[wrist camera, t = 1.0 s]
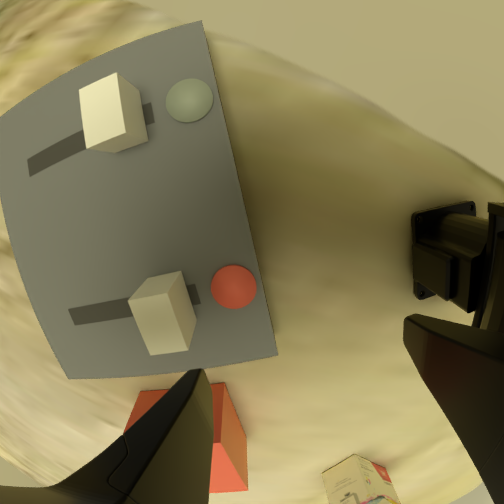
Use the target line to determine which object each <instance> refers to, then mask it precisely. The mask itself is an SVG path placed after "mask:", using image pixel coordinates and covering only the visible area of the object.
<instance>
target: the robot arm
mask: <svg viewBox="0 0 504 504" xmlns="http://www.w3.org/2000/svg"><path fill="white" fill-rule="evenodd" d="M470 206H471V207H470ZM488 212H489V220H487V219H483V218H479V217H476V206H475V203H474V202H473V201H464V202H459V203H454V204H450V205H445V206H441V207H436V208H431V209H427V210H422V211H418V212H415V213H414V214H413V215H412V219H411V221H412V233H413V246H412V250H413V278H414V294H415V297H416V298H418V299H419V300H423V299H426V298H428V297H431V296H434V295H436V294H437V295H438V296H439V297H441V298H442V299H444V300H445V301H449V300H450V301H451V302H453V303H454V304H456V305H457V306H458V307H460V308H461V309H463V310H464V311H466V312H467V313H471V312H473V311H475V314H474V318H473V322H472V326H467V325H463V324H458V323H454V322H450V321H445V320H441V319H437V318H433V317H428V316H424V315H420V314H413V315H410V316H407V317H406V318H405V319H404V330H403V341H404V345H405V347H406V349H407V351H408V353H409V355H410V356H411V358H412V360H413V362H414V364H415V366H416V368H417V370H418V372H419V374H420V376H421V378H422V379H423V381H424V383H425V384H426V386H427V387H428V389H429V390H430V392H431V393H432V395H433V396H434V398H435V400H436V401H437V403H438V404H439V406H440V407H441V409H442V410H443V412H444V414H445V415H446V417H447V419H448V420H449V422H450V423H451V425H452V427H453V428H454V430H455V432H456V433H457V435H458V437H459V438H460V440H461V442H462V444H463V445H464V447H465V449H466V450H467V452H468V454H469V456H470V458H471V459H472V461H473V463H474V465H475V467H476V468H477V470H478V472H479V474H480V476H481V478H482V480H483V482H484V484H485V486H486V488H487V490H488V492H489V494H490V496H491V498H492V500H493V502H494V504H504V203H495V202H488ZM418 217H420V220H419V222H418V221H417V218H418ZM421 291H422V293H421V294H420V292H421ZM213 440H214V422H213V396H212V389H211V386H210V384H209V381H208V379H207V376H206V374H205V371H204V370H203V369H202V368H197V369H190V370H189V371H187V372H186V373H185V374H184V375H183V376H182V377H181V378H180V379H179V380H178V381H177V382H176V383H175V384H174V385H173V386H172V387H171V388H170V389H169V390H168V391H167V392H166V393H165V394H164V395H163V396H162V397H161V398H160V399H159V400H158V401H157V402H156V403H155V404H154V405H153V406H152V407H151V408H150V409H149V410H148V411H147V412H146V413H144V414H143V415H142V416H141V417H140V418H139V419H138V420H137V421H136V422H135V423H134V424H133V425H132V426H131V427H130V428H129V429H128V430H126V431H125V432H124V433H123V435H121V436H120V437H119V438H118V439H117V440H116V441H114V442H113V443H112V444H111V445H110V446H109V447H108V448H106V449H105V450H104V451H103V452H102V453H100V454H99V455H98V456H97V457H95V458H94V459H93V460H91V461H90V462H89V463H87V464H86V465H84V466H83V467H82V468H80V469H79V470H77V471H76V472H74V473H73V474H72V475H70V476H69V477H67V478H66V479H64V480H63V481H61V482H59V483H58V484H55V485H52V486H49V487H41V488H35V487H12V486H1V485H0V504H208V501H209V488H210V475H211V463H212V452H213Z"/></svg>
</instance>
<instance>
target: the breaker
mask: <svg viewBox="0 0 504 504" xmlns="http://www.w3.org/2000/svg"><path fill="white" fill-rule="evenodd" d="M79 97H80V106H81V115H82V123H83V130H84V137H85V143H86V149H92V150H98V151H105V152H111V153H116V152H119V151H122V150H125V149H127V148H130V147H133V146H136V145H139V144H141V143H144V142H147V141H148V136H147V131H146V126H145V120H144V115H143V109H142V104H141V98H140V92H139V90H138V89H137V88H136V87H134V86H133V85H132V84H131V83H130V82H128V81H127V80H126V79H125V78H123V77H122V76H121V75H120V74H118V73H117V72H116V73H114V74H111V75H109V76H107V77H105V78H102V79H100V80H98V81H96V82H94V83H92V84H90V85H88V86H85V87H83V88H81V89H79Z"/></svg>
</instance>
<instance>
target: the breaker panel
mask: <svg viewBox="0 0 504 504" xmlns="http://www.w3.org/2000/svg"><path fill="white" fill-rule="evenodd" d="M116 72H117V73H118V74H120V75H121V76H122V77H123V78H125V79H126V80H127V81H128V82H130V83H131V84H132V85H133V86H134V87H136V88H137V89H138V90H139V92H140V98H141V104H142V109H143V115H144V120H145V126H146V131H147V136H148V141H147V142H144V143H141V144H139V145H136V146H133V147H130V148H127V149H125V150H122V151H119V152H116V153H111V152H105V151H98V150H92V149H86V143H85V137H84V130H83V123H82V115H81V106H80V97H79V89H81V88H83V87H85V86H88V85H90V84H92V83H94V82H96V81H98V80H100V79H102V78H105V77H107V76H109V75H111V74H114V73H116ZM0 198H1V203H2V208H3V213H4V218H5V222H6V227H7V231H8V235H9V239H10V242H11V246H12V250H13V253H14V256H15V260H16V263H17V266H18V269H19V272H20V275H21V278H22V281H23V284H24V286H25V289H26V292H27V295H28V297H29V300H30V302H31V305H32V307H33V310H34V312H35V314H36V317H37V319H38V321H39V323H40V326H41V328H42V330H43V332H44V334H45V336H46V338H47V340H48V342H49V344H50V346H51V348H52V350H53V352H54V354H55V356H56V358H57V360H58V362H59V363H60V365H61V367H62V369H63V371H64V372H65V374H66V376H67V377H68V379H100V378H121V377H135V376H147V375H158V374H168V373H176V372H184V371H189V370H190V369H197V368H202V369H206V368H213V367H219V366H225V365H231V364H237V363H242V362H248V361H253V360H258V359H263V358H268V357H272V356H277V355H278V352H277V347H276V342H275V337H274V332H273V328H272V324H271V319H270V315H269V310H268V306H267V301H266V297H265V292H264V288H263V284H262V279H261V275H260V270H259V266H258V261H257V257H256V253H255V248H254V244H253V239H252V235H251V231H250V226H249V222H248V217H247V213H246V209H245V204H244V200H243V196H242V191H241V187H240V182H239V178H238V174H237V169H236V165H235V161H234V156H233V152H232V148H231V143H230V139H229V135H228V130H227V126H226V122H225V117H224V113H223V109H222V104H221V100H220V96H219V91H218V87H217V83H216V78H215V74H214V70H213V66H212V61H211V57H210V53H209V48H208V44H207V40H206V36H205V32H204V28H203V25H202V21H197V22H193V23H189V24H185V25H182V26H178V27H175V28H171V29H168V30H165V31H161V32H158V33H155V34H152V35H149V36H147V37H144V38H141V39H138V40H136V41H133V42H130V43H128V44H125V45H123V46H120V47H118V48H116V49H113V50H111V51H109V52H106V53H104V54H102V55H100V56H98V57H96V58H94V59H92V60H89V61H87V62H85V63H83V64H82V65H80V66H78V67H76V68H74V69H72V70H70V71H68V72H67V73H65V74H63V75H61V76H60V77H58V78H56V79H54V80H53V81H51V82H50V83H48V84H46V85H45V86H43V87H41V88H40V89H38V90H37V91H35V92H34V93H32V94H31V95H29V96H28V97H26V98H25V99H24V100H22V101H21V102H19V103H18V104H17V105H15V106H14V107H13V108H11V109H10V110H9V111H7V112H6V113H5V114H3V115H2V116H1V117H0ZM177 271H181V272H182V275H183V278H184V282H185V285H186V288H187V291H188V294H189V297H190V301H191V304H192V307H193V310H194V313H195V316H196V319H197V322H196V325H195V328H194V332H193V335H192V339H191V342H190V346H189V349H188V350H187V351H181V352H174V353H166V354H159V355H151V356H150V353H149V351H148V349H147V347H146V344H145V342H144V340H143V338H142V335H141V333H140V330H139V328H138V326H137V323H136V321H135V318H134V316H133V313H132V311H131V308H130V305H129V303H128V300H129V299H130V298H131V296H132V295H133V294H134V293H135V292H136V291H137V289H138V288H139V287H140V286H141V285H142V284H143V283H144V282H145V280H146V279H147V278H150V277H155V276H159V275H164V274H168V273H173V272H177Z"/></svg>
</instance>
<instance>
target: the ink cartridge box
mask: <svg viewBox="0 0 504 504" xmlns="http://www.w3.org/2000/svg"><path fill="white" fill-rule="evenodd" d="M322 477H323V481H324V485H325V489H326V493H327V497H328V500H329V504H401V503H400V501H399V499H398V496H397V494H396V492H395V489H394V487H393V484H392V482H391V480H390V478H389V475H388V473H387V471H386V469H385V468H383V467H381V466H379V465H377V464H374V463H372V462H370V461H368V460H366V459H364V458H362V457H360V456H358V455H356V454H354V455H352V456H351V457H349V458H347V459H346V460H344V461H343V462H341V463H339V464H338V465H336V466H334V467H332V468H331V469H329V470H327V471H325V472H323V473H322Z"/></svg>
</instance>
